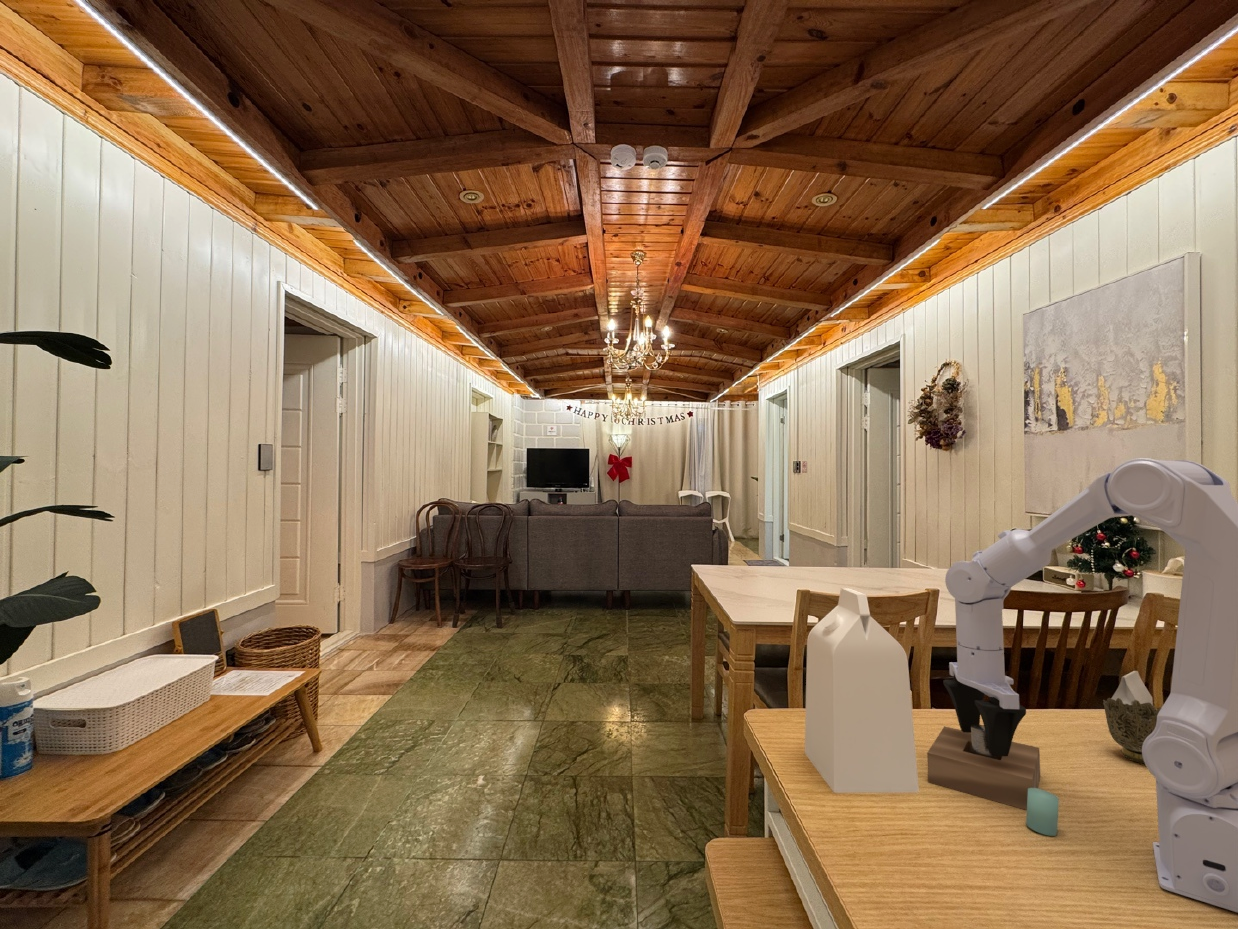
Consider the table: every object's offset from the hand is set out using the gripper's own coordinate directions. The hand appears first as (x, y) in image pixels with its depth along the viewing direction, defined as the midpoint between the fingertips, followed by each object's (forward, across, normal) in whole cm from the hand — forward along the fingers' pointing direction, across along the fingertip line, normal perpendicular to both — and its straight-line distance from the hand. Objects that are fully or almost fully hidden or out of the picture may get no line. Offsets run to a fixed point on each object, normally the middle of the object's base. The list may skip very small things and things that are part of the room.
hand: (983, 743), depth 81 cm
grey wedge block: (+5, +18, -33) cm, 38 cm away
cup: (+5, +8, -26) cm, 28 cm away
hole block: (+5, 0, 0) cm, 5 cm away
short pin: (+5, -12, 0) cm, 13 cm away
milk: (+5, +1, +17) cm, 18 cm away
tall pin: (+5, 0, 0) cm, 5 cm away
